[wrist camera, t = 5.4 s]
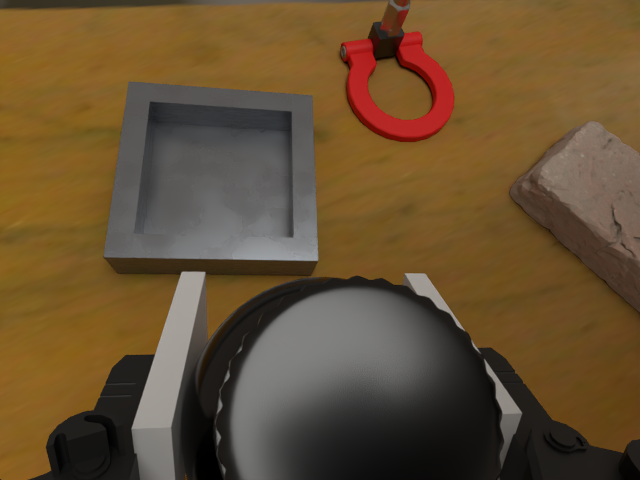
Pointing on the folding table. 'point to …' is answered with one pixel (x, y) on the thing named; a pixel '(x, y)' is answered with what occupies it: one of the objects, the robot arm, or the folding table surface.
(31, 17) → the folding table surface
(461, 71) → the folding table surface
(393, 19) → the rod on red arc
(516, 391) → the robot arm
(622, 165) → the brick
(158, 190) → the keeper tray
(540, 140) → the folding table surface
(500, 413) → the supplement bottle
